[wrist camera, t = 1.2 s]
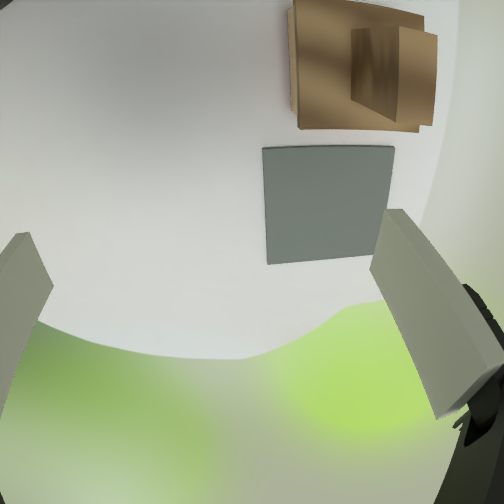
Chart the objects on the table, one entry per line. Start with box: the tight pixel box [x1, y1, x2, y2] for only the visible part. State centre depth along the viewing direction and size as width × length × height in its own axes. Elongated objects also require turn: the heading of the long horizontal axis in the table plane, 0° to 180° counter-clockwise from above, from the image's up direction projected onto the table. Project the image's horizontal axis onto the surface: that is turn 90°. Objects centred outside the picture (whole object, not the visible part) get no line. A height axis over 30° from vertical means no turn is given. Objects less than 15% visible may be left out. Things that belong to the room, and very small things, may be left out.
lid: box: [293, 0, 437, 133], centre depth 20 cm, size 13×13×10 cm
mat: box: [262, 145, 395, 265], centre depth 40 cm, size 17×17×1 cm
